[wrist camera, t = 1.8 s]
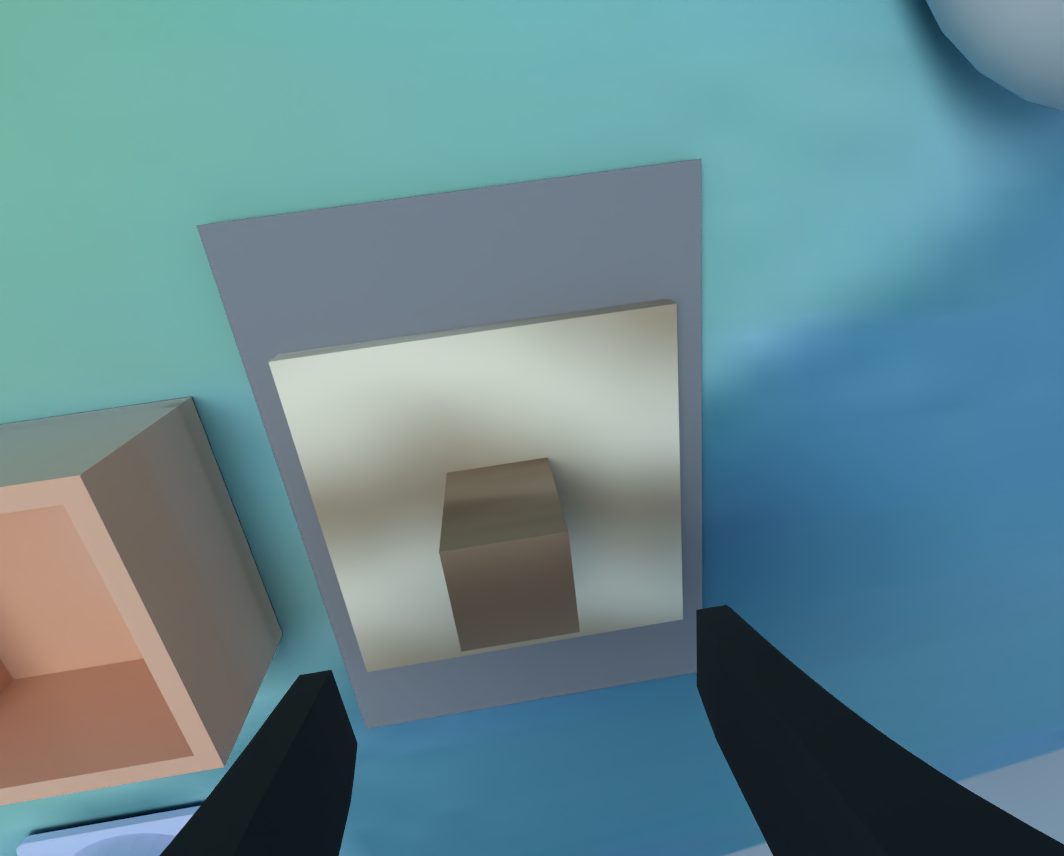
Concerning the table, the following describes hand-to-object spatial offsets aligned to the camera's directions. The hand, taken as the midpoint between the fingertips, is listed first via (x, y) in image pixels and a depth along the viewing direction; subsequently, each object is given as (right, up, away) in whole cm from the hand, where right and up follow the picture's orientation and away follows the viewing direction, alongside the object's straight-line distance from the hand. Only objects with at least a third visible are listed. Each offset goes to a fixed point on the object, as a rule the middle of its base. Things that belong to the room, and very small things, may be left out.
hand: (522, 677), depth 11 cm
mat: (-1, +3, +7) cm, 8 cm away
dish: (-14, +1, +7) cm, 15 cm away
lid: (-1, +3, +7) cm, 7 cm away
